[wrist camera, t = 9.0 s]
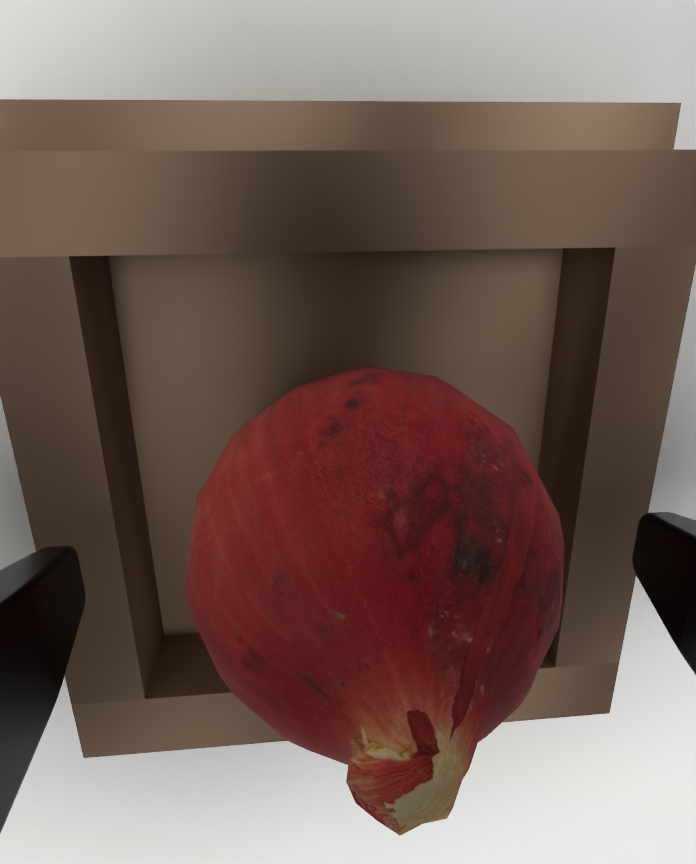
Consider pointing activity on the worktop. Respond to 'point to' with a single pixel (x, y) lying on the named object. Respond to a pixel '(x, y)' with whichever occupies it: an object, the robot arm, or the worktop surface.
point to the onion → (378, 579)
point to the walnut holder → (326, 340)
